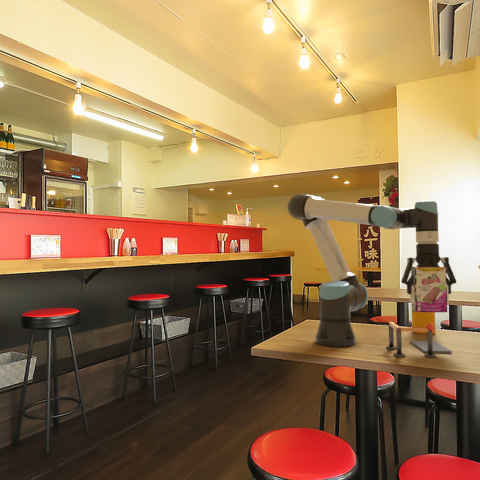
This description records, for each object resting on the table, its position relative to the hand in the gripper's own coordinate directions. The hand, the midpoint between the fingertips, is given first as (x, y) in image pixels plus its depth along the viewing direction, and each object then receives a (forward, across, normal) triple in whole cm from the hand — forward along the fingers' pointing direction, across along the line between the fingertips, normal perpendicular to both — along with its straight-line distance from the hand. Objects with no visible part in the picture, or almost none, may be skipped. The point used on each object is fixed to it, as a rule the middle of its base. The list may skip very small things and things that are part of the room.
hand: (429, 303), depth 143 cm
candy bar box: (+3, 0, 0) cm, 3 cm away
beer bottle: (+16, +7, +28) cm, 33 cm away
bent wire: (+16, -9, -7) cm, 20 cm away
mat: (+16, 0, 0) cm, 16 cm away
